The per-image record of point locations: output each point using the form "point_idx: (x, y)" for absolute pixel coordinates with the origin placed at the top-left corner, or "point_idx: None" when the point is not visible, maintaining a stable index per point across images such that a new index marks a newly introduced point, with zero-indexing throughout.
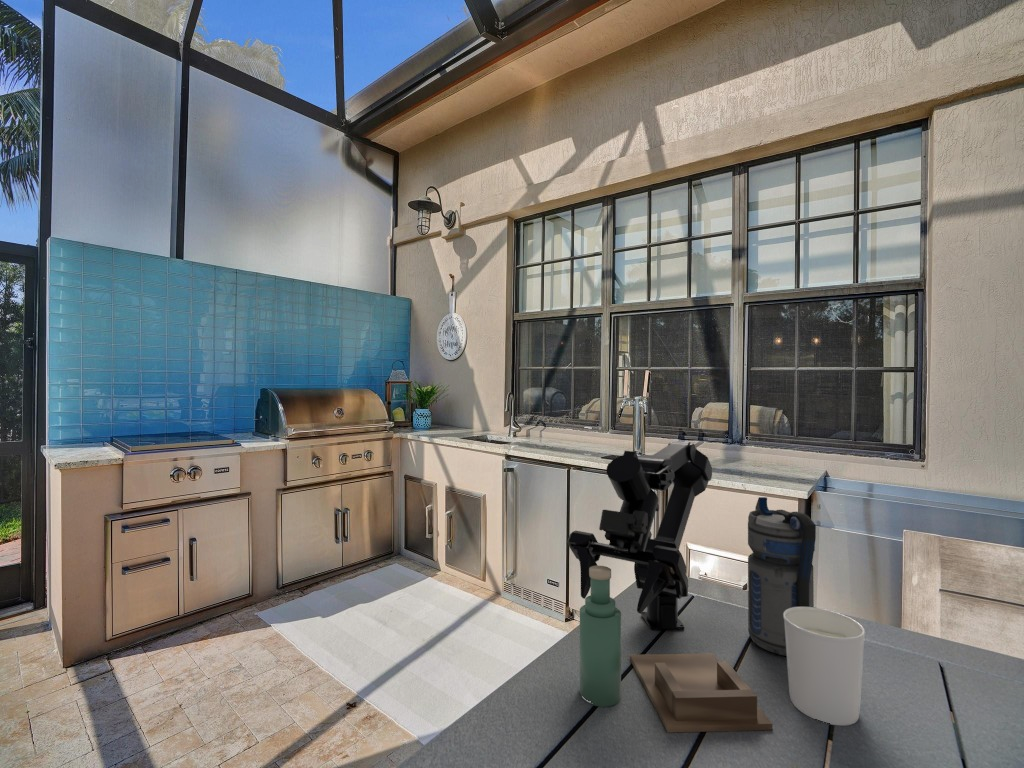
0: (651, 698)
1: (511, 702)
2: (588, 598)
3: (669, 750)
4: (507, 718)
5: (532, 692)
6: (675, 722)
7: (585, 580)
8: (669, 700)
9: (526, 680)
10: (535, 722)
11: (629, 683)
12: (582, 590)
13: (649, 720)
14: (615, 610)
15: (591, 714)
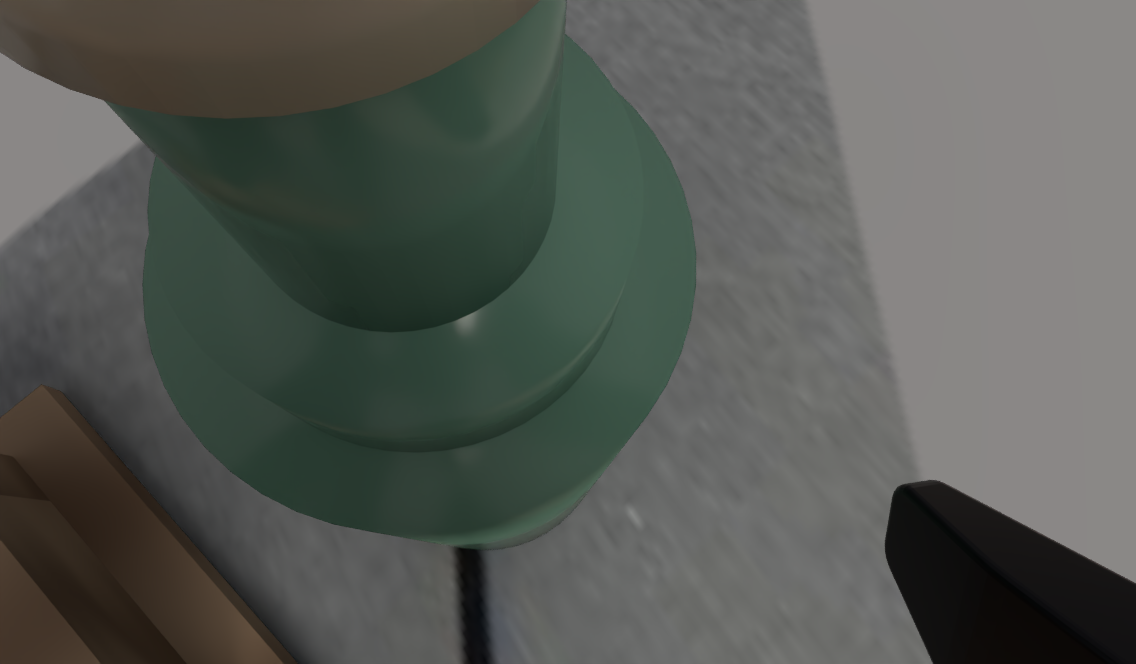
0: (214, 575)
1: (765, 88)
2: (588, 134)
3: (20, 287)
4: (696, 6)
5: (754, 203)
6: (12, 441)
7: (1094, 639)
8: (41, 524)
9: (850, 258)
10: (592, 59)
11: (406, 652)
12: (964, 511)
13: (172, 414)
14: (274, 423)
15: None
